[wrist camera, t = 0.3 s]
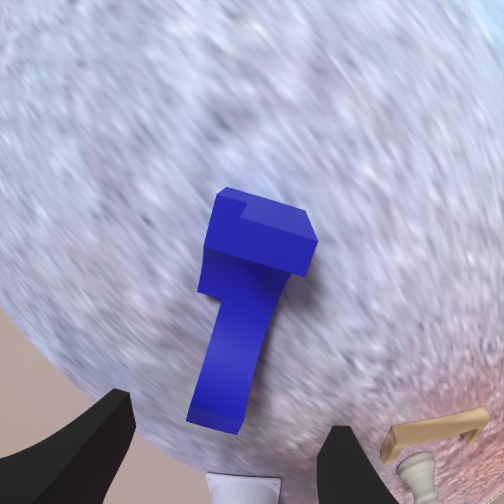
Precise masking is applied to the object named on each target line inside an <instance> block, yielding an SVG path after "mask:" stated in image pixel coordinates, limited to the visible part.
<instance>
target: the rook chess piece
mask: <svg viewBox="0 0 504 504" xmlns="http://www.w3.org/2000/svg"><path fill="white" fill-rule="evenodd" d="M433 458H434V455H433V454H432V453H430V452H419V453H416V454H414V455H412V456H409V457H408V458H406V459H405V460H403V461H402V463H401V464H400V465H399V467H398V470H397V472H398V473H399V474H400V476H399V477H400V479H401V480H402V481H403V482H405V484H406V485H408V486H409V487H410V490H411V492H412V494H413V497H414V503H413V504H444V503H443V502H442V501H440V500H438V498H437V496H438V494H439V493H438V492H436V490H435V486H434V479H433V474H434V472H435V471H434V468H435V466H436V462H435V460H433Z"/></svg>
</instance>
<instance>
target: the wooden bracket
mask: <svg viewBox="0 0 504 504" xmlns="http://www.w3.org/2000/svg"><path fill="white" fill-rule="evenodd" d="M489 421H490V417H489V415H488V414H487V412H486V410H485V409H484V407H479V408H476V409H472V410H468V411H465V412H461V413H457V414H453V415H448V416H444V417H439V418H435V419H430V420H424V421H419V422H413V423H407V424H401V425H394V426H392V427H391V429H390V431H389V433H388V435H387V437H386V439H385V442H384V444H383V446H382V448H381V455H382V459H383V463H384V465H388V464H394V462H395V460H396V459H397V457H398V455H399V454H400V452H401V450H402V448H403V447H404V446H410V445H415V444H420V443H425V442H429V441H434V440H438V439H442V438H446V437H450V436H454V435H457V434H461V433H462V435H463V437H464V440H465V442H466V444H467V445H471V444H474V443H475V441H476V440H477V439H478V437H479V436H480V434H481V433H482V431H483V430H484V428H485V427H486V425H487V424H488V422H489Z"/></svg>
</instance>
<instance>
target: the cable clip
mask: <svg viewBox="0 0 504 504" xmlns="http://www.w3.org/2000/svg"><path fill="white" fill-rule="evenodd" d="M317 243H318V240H317V237H316V235H315V233H314V230H313V228H312V225H311V223H310V221H309V218H308V216H307V214H306V211H305V210H302V209H298V208H295V207H292V206H289V205H286V204H282V203H279V202H276V201H273V200H269V199H266V198H263V197H259V196H256V195H253V194H249V193H246V192H242V191H239V190H235V189H232V188H228V187H226V188H225V189H223V190H222V191H221V192H219V193H218V194H217V195H216V199H215V203H214V207H213V211H212V214H211V218H210V222H209V226H208V230H207V234H206V238H205V243H204V253H203V263H202V270H201V275H200V281H199V285H198V290H197V292H199V293H203V294H206V295H209V296H212V297H216V298H219V299H222V301H221V305H220V309H219V312H218V316H217V319H216V323H215V326H214V329H213V333H212V336H211V340H210V343H209V346H208V350H207V353H206V356H205V360H204V363H203V366H202V369H201V373H200V376H199V379H198V382H197V385H196V388H195V391H194V395H193V398H192V401H191V404H190V407H189V411H188V415H187V419H186V421H187V422H190V423H194V424H197V425H200V426H204V427H207V428H211V429H215V430H218V431H222V432H226V433H230V434H234V435H237V434H238V432H239V430H240V428H241V426H242V423H243V421H244V416H245V410H246V405H247V400H248V395H249V391H250V386H251V382H252V378H253V374H254V371H255V367H256V363H257V360H258V356H259V353H260V350H261V346H262V343H263V340H264V337H265V334H266V331H267V328H268V325H269V322H270V319H271V317H272V314H273V311H274V309H275V306H276V304H277V301H278V299H279V297H280V294H281V292H282V290H283V288H284V286H285V284H286V282H287V280H288V279H289V277H290V276H291V274H292V273H293V274H297V275H300V276H303V277H305V275H306V272H307V270H308V267H309V264H310V262H311V259H312V256H313V254H314V251H315V248H316V246H317Z"/></svg>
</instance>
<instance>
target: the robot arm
mask: <svg viewBox="0 0 504 504" xmlns="http://www.w3.org/2000/svg"><path fill="white" fill-rule="evenodd" d="M135 429H136V423H135V418H134V413H133V409H132V404H131V398H130V393H129V392H125V391H122V390H119V389H116V388H114V389H112V390H111V391H110V392H109V393H107V394H106V395H105V396H104V397H103V398H101V399H100V400H99V401H98V402H97V403H95V404H94V405H93V406H92V407H90V408H89V409H88V410H87V411H85V412H84V413H83V414H81V415H80V416H79V417H77V419H75V420H74V421H72V422H71V423H69V424H68V425H67V426H65V427H63V428H62V429H61V430H59V431H58V432H56V433H55V434H53V435H51V436H50V437H48V438H46V439H45V440H43V441H41V442H39V443H37V444H35V445H33V446H31V447H29V448H27V449H24V450H22V451H20V452H18V453H15V454H12V455H10V456H7V457H3V458H0V504H102V503H103V501H104V498H105V496H106V493H107V491H108V489H109V487H110V485H111V483H112V481H113V479H114V477H115V475H116V473H117V471H118V469H119V467H120V465H121V463H122V461H123V459H124V457H125V455H126V453H127V451H128V449H129V446H130V443H131V441H132V438H133V435H134V432H135ZM205 477H206V481H207V484H208V487H209V491H210V494H211V498H210V502H209V504H278V500H279V493H280V486H281V479H279V478H260V477H243V476H231V475H221V474H213V473H207V474H206V476H205ZM317 488H318V498H319V504H399V503H398V501H397V500H396V499H395V498H394V497H393V495H392V494H391V493H390V491H389V490H388V489H387V487H386V486H385V484H384V483H383V482H382V480H381V479H380V477H379V476H378V474H377V472H376V471H375V469H374V468H373V466H372V465H371V463H370V461H369V460H368V458H367V456H366V454H365V453H364V451H363V449H362V447H361V446H360V444H359V442H358V440H357V438H356V437H355V435H354V433H353V431H352V429H351V427H350V426H333V427H332V429H331V431H330V433H329V435H328V437H327V439H326V441H325V442H324V444H323V446H322V448H321V450H320V452H319V454H318V456H317Z"/></svg>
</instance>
